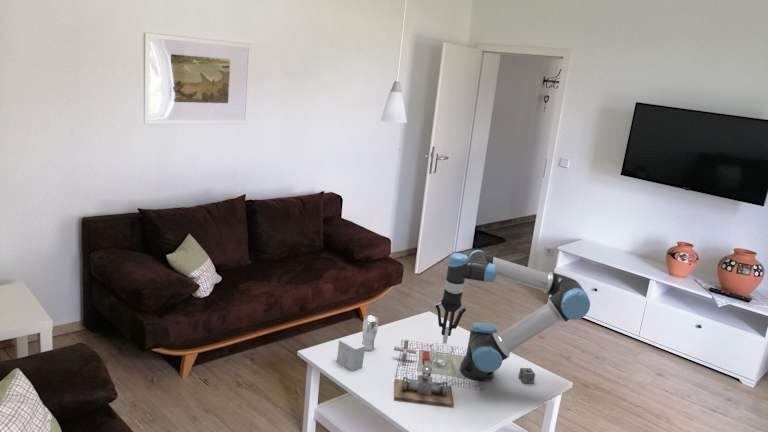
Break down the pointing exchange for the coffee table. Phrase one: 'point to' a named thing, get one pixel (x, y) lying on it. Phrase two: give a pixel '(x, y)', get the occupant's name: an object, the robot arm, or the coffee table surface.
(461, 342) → the coffee table surface
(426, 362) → the valve handle
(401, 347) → the pipe connector
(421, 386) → the valve body
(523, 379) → the dice cube
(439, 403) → the walnut board
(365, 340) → the beer glass
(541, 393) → the coffee table surface
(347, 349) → the skincare box
